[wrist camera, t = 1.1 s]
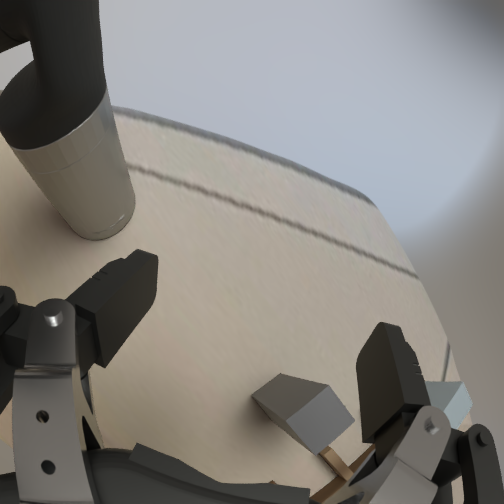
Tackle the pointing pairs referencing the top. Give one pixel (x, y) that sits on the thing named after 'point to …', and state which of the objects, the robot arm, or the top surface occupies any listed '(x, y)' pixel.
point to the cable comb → (340, 469)
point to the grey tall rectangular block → (304, 410)
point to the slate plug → (450, 400)
